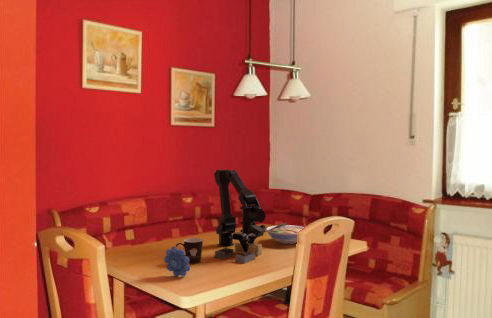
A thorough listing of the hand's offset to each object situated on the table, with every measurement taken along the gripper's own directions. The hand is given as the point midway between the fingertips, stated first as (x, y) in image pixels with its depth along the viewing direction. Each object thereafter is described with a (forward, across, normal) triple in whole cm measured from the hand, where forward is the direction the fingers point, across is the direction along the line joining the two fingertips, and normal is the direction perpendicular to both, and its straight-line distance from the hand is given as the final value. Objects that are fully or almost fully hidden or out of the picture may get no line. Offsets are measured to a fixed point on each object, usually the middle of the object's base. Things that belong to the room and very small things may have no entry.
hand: (248, 251), depth 218 cm
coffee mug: (+1, -27, +13) cm, 30 cm away
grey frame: (+1, -11, 0) cm, 11 cm away
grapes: (+1, -47, +3) cm, 47 cm away
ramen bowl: (+1, +30, -5) cm, 31 cm away
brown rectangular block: (+1, 0, 0) cm, 1 cm away
